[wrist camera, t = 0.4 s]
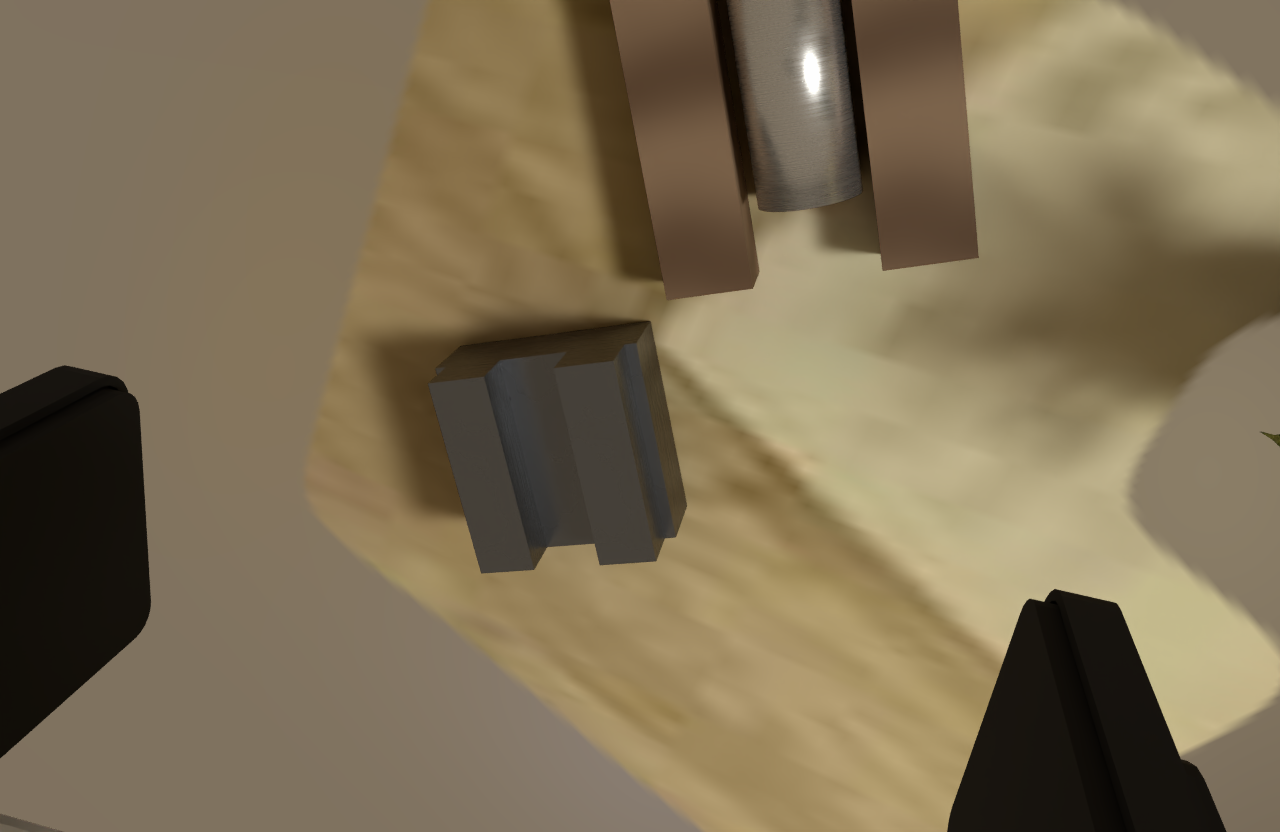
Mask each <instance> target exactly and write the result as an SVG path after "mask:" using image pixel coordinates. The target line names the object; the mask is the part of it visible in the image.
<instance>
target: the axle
mask: <svg viewBox="0 0 1280 832" xmlns="http://www.w3.org/2000/svg"><path fill="white" fill-rule="evenodd" d="M726 2H727V8H728V15H729V21H730V27H731V34H732V40H733V47H734V53H735V60H736V66H737V73H738V79H739V86H740V92H741V99H742V105H743V112H744V118H745V125H746V131H747V138H748V144H749V151H750V157H751V164H752V170H753V177H754V183H755V190H756V196H757V203H758V209H759V210H762V211H767V212H786V211H797V210H804V209H811V208H816V207H821V206H826V205H831V204H834V203H838V202H842V201H845V200H848V199H850V198H853V197H855V196H857V195H859V194H860V193H862V191H863V186H862V178H861V170H860V161H859V153H858V144H857V136H856V127H855V119H854V110H853V102H852V94H851V85H850V77H849V68H848V60H847V51H846V43H845V35H844V26H843V18H842V9H841V1H840V0H726Z"/></svg>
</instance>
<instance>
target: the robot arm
mask: <svg viewBox="0 0 1280 832" xmlns="http://www.w3.org/2000/svg"><path fill="white" fill-rule="evenodd" d="M150 607H151V596H150V580H149V562H148V545H147V528H146V511H145V495H144V478H143V461H142V444H141V427H140V411H139V405H138V402H137V400H136V398H135V397H134V396H133V395H132V394H130V393H128V390H127V388H126V386H125V384H124V382H123V381H122V380H120V379H119V378H118V377H115V376H111V375H106V374H102V373H97V372H93V371H89V370H84V369H79V368H75V367H70V366H61V367H57V368H54V369H52V370H50V371H48V372H46V373H43V374H41V375H39V376H37V377H35V378H33V379H31V380H29V381H27V382H24V383H22V384H20V385H18V386H16V387H14V388H12V389H10V390H7V391H5V392H3V393H1V394H0V758H1V757H2V756H3V755H5V754H6V753H7V752H8V751H9V750H10V749H11V748H12V747H14V745H16V744H17V743H18V742H19V741H20V740H21V739H22V738H24V737H25V736H26V735H27V734H28V733H29V732H30V731H32V730H33V729H34V728H35V727H36V726H37V725H38V724H39V723H41V722H42V721H43V720H44V719H45V718H46V717H47V716H48V715H50V713H52V712H53V711H54V710H55V709H56V708H57V707H59V706H60V705H61V704H62V703H63V702H64V701H65V700H66V699H67V698H68V697H70V696H71V695H72V694H73V693H74V692H75V691H76V690H78V689H79V688H80V687H81V686H82V685H83V684H84V683H85V682H87V681H88V680H89V679H90V678H91V677H92V676H93V675H94V674H96V673H97V672H98V671H99V670H100V669H101V668H102V667H103V666H105V665H106V664H107V663H108V662H109V661H110V660H111V659H112V658H113V657H115V656H116V655H117V654H118V653H119V652H120V651H121V650H123V649H124V648H125V647H126V646H127V645H128V644H129V643H130V642H132V641H133V640H134V639H135V638H136V637H137V635H139V633H140V632H141V631H142V629H143V627H144V626H145V624H146V621H147V619H148V616H149V612H150ZM0 832H62V831H59V830H56V829H52V828H49V827H45V826H42V825H39V824H35V823H31V822H28V821H24V820H21V819H17V818H14V817H10V816H7V815H3V814H0ZM947 832H1226V830H1225V828H1224V825H1223V822H1222V820H1221V818H1220V815H1219V813H1218V811H1217V809H1216V806H1215V803H1214V801H1213V799H1212V796H1211V794H1210V791H1209V789H1208V787H1207V784H1206V782H1205V780H1204V778H1203V776H1202V775H1201V773H1200V772H1199V770H1198V768H1197V767H1196V766H1195V765H1193V764H1191V763H1190V762H1188V761H1185V760H1181V759H1180V756H1179V754H1178V751H1177V749H1176V746H1175V744H1174V741H1173V739H1172V736H1171V734H1170V731H1169V729H1168V726H1167V724H1166V721H1165V719H1164V716H1163V714H1162V711H1161V709H1160V706H1159V704H1158V701H1157V699H1156V696H1155V694H1154V691H1153V689H1152V686H1151V684H1150V681H1149V679H1148V676H1147V674H1146V671H1145V669H1144V666H1143V664H1142V661H1141V659H1140V656H1139V654H1138V651H1137V649H1136V646H1135V644H1134V641H1133V639H1132V636H1131V634H1130V631H1129V629H1128V626H1127V624H1126V621H1125V619H1124V616H1123V614H1122V611H1121V609H1120V608H1119V606H1118V605H1117V603H1114V602H1110V601H1105V600H1101V599H1096V598H1092V597H1088V596H1083V595H1079V594H1074V593H1070V592H1065V591H1061V590H1057V589H1054V590H1053V591H1051V592H1050V593H1049V595H1048V596H1047V598H1046V599H1045V602H1042V601H1038V600H1033V599H1029V600H1027V601H1026V603H1025V604H1024V606H1023V608H1022V611H1021V613H1020V616H1019V619H1018V622H1017V624H1016V627H1015V630H1014V633H1013V636H1012V639H1011V641H1010V644H1009V647H1008V650H1007V653H1006V656H1005V659H1004V661H1003V664H1002V667H1001V670H1000V673H999V676H998V678H997V681H996V684H995V687H994V690H993V693H992V695H991V698H990V701H989V704H988V707H987V710H986V713H985V715H984V718H983V721H982V724H981V727H980V730H979V732H978V735H977V738H976V741H975V744H974V747H973V749H972V752H971V755H970V758H969V761H968V764H967V767H966V769H965V772H964V775H963V778H962V781H961V784H960V786H959V789H958V792H957V795H956V798H955V801H954V804H953V806H952V810H951V813H950V818H949V823H948V830H947Z"/></svg>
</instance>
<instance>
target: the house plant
mask: <svg viewBox="0 0 1280 832" xmlns="http://www.w3.org/2000/svg"><path fill="white" fill-rule="evenodd" d="M1262 433H1263V434H1264V435H1266V436H1267V437H1269V438H1271V439H1272V440H1273V441H1275V443H1277V445H1279V446H1280V434H1279V435H1272V434H1268V433H1264V432H1262Z"/></svg>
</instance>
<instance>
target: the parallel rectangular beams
mask: <svg viewBox="0 0 1280 832" xmlns="http://www.w3.org/2000/svg"><path fill="white" fill-rule="evenodd" d="M610 5H611V10H612V15H613V20H614V26H615V31H616V36H617V41H618V47H619V52H620V57H621V62H622V67H623V73H624V78H625V83H626V88H627V94H628V99H629V104H630V109H631V115H632V120H633V125H634V130H635V136H636V141H637V146H638V151H639V157H640V162H641V167H642V172H643V178H644V183H645V188H646V193H647V199H648V204H649V209H650V214H651V220H652V225H653V230H654V235H655V241H656V246H657V251H658V256H659V262H660V267H661V272H662V277H663V283H664V288H665V293H666V298H667V300H672V299H680V298H687V297H694V296H702V295H709V294H716V293H724V292H731V291H738V290H746V289H753V287H754V284H755V282H756V279H757V277H758V274H759V266H758V259H757V253H756V247H755V240H754V234H753V227H752V221H751V215H750V208H749V202H748V196H747V189H746V183H745V177H744V170H743V164H742V157H741V151H740V145H739V138H738V132H737V126H736V119H735V113H734V107H733V100H732V94H731V87H730V81H729V75H728V68H727V62H726V56H725V49H724V43H723V37H722V30H721V24H720V17H719V11H718V5H717V0H610ZM852 8H853V17H854V26H855V35H856V43H857V52H858V61H859V69H860V78H861V87H862V95H863V104H864V113H865V122H866V130H867V139H868V148H869V156H870V165H871V174H872V182H873V191H874V200H875V209H876V217H877V226H878V235H879V243H880V252H881V261H882V269H883V271H885V270H892V269H900V268H907V267H914V266H922V265H929V264H936V263H944V262H951V261H958V260H966V259H973V258H979V256H978V244H977V232H976V219H975V207H974V195H973V183H972V171H971V158H970V146H969V134H968V122H967V109H966V97H965V85H964V73H963V60H962V48H961V36H960V24H959V12H958V0H852Z"/></svg>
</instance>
